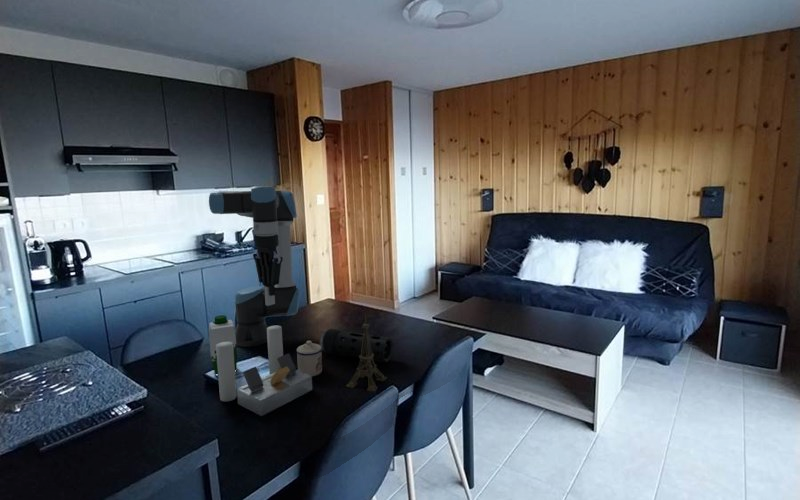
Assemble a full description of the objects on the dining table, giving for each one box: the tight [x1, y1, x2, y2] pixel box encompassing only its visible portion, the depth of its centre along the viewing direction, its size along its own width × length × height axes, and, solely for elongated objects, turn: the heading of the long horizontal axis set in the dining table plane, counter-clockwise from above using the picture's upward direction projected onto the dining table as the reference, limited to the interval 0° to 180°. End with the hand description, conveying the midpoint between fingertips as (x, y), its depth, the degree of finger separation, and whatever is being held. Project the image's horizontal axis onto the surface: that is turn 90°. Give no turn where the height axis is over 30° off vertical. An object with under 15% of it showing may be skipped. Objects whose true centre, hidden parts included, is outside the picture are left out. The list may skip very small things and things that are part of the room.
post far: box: [267, 325, 284, 375], centre depth 153 cm, size 5×5×18 cm
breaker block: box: [236, 369, 313, 417], centre depth 140 cm, size 12×20×5 cm, turn 143°
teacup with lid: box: [295, 340, 323, 377], centre depth 159 cm, size 12×9×12 cm
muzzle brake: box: [319, 328, 394, 364], centre depth 170 cm, size 10×28×10 cm, turn 68°
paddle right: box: [277, 353, 297, 376], centre depth 145 cm, size 2×4×7 cm
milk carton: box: [208, 315, 238, 374], centre depth 158 cm, size 9×9×20 cm
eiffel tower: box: [345, 312, 388, 393], centre depth 148 cm, size 11×11×25 cm
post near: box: [216, 342, 237, 402], centre depth 138 cm, size 5×5×18 cm
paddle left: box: [242, 366, 264, 392], centre depth 135 cm, size 2×4×7 cm
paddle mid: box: [270, 366, 290, 385], centre depth 138 cm, size 2×4×7 cm
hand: (270, 304), depth 145 cm, fingers closed
